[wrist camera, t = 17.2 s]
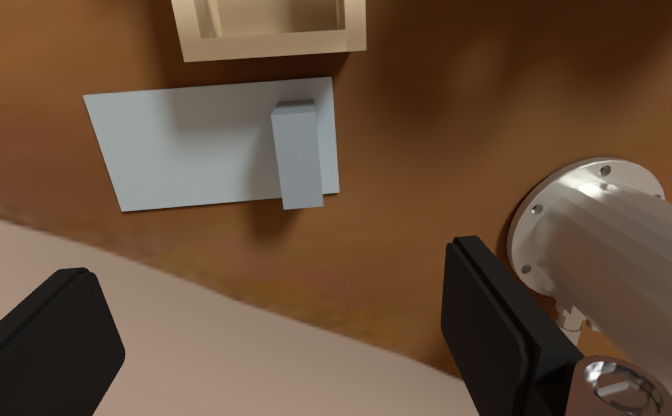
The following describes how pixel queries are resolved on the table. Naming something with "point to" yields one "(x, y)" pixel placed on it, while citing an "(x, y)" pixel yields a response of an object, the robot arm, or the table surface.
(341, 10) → the toolbox
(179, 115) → the lid
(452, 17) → the table surface
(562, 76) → the table surface
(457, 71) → the table surface
